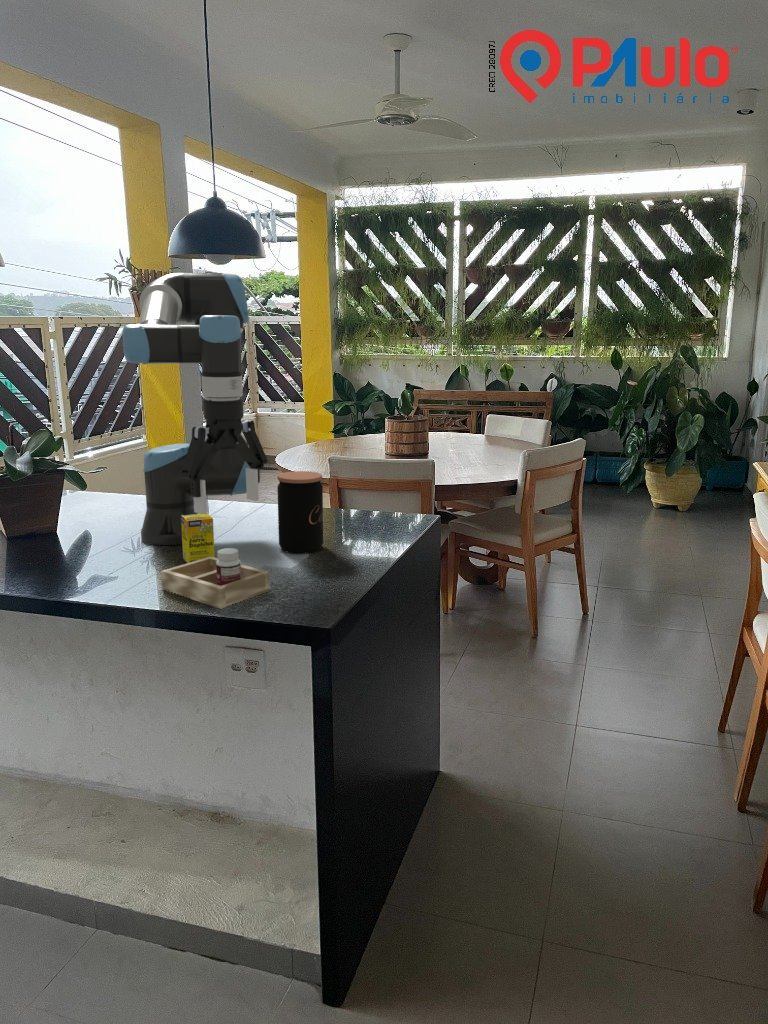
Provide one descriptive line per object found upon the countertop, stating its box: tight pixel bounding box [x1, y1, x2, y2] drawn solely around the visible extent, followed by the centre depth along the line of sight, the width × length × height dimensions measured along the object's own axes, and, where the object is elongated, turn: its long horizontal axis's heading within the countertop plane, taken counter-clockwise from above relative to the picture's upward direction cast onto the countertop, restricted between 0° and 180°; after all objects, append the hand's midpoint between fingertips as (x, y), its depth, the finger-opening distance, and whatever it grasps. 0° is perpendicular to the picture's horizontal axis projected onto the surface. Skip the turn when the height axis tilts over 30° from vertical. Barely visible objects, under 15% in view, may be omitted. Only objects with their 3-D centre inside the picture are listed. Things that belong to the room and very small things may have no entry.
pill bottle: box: [216, 547, 242, 586], centre depth 151 cm, size 5×5×8 cm
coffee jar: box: [276, 470, 324, 555], centre depth 182 cm, size 11×11×18 cm
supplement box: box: [181, 513, 216, 564], centre depth 171 cm, size 6×6×11 cm
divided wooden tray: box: [160, 556, 271, 610], centre depth 154 cm, size 18×13×4 cm
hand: (227, 506), depth 151 cm, fingers open, 13 cm apart
